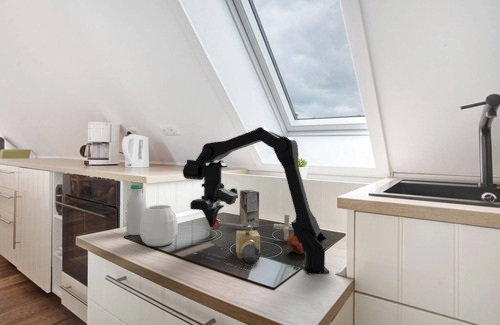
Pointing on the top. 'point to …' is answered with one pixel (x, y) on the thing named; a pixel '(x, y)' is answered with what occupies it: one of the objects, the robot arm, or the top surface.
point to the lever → (231, 225)
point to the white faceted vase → (158, 225)
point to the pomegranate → (294, 244)
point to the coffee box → (249, 208)
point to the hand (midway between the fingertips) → (211, 226)
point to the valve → (248, 245)
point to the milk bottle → (135, 209)
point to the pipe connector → (284, 226)
